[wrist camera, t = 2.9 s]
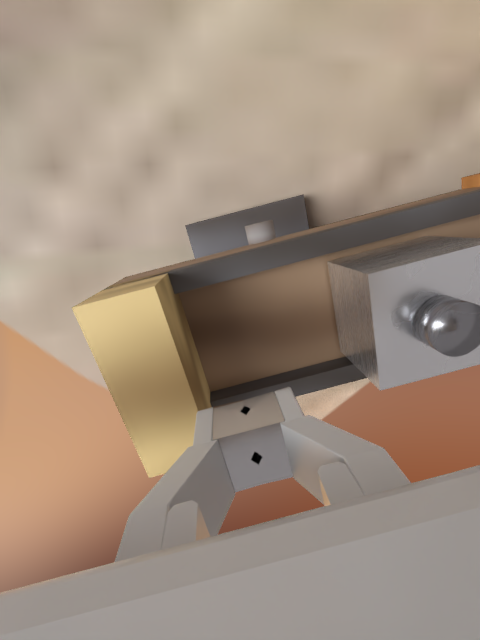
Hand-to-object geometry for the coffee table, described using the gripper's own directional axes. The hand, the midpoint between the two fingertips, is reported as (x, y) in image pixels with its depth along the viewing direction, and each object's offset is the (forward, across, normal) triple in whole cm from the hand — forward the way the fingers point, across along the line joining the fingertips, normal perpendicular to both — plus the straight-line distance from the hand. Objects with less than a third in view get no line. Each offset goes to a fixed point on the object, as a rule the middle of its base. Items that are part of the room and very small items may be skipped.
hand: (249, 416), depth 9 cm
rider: (+6, -8, 0) cm, 10 cm away
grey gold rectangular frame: (+16, -8, -1) cm, 18 cm away
